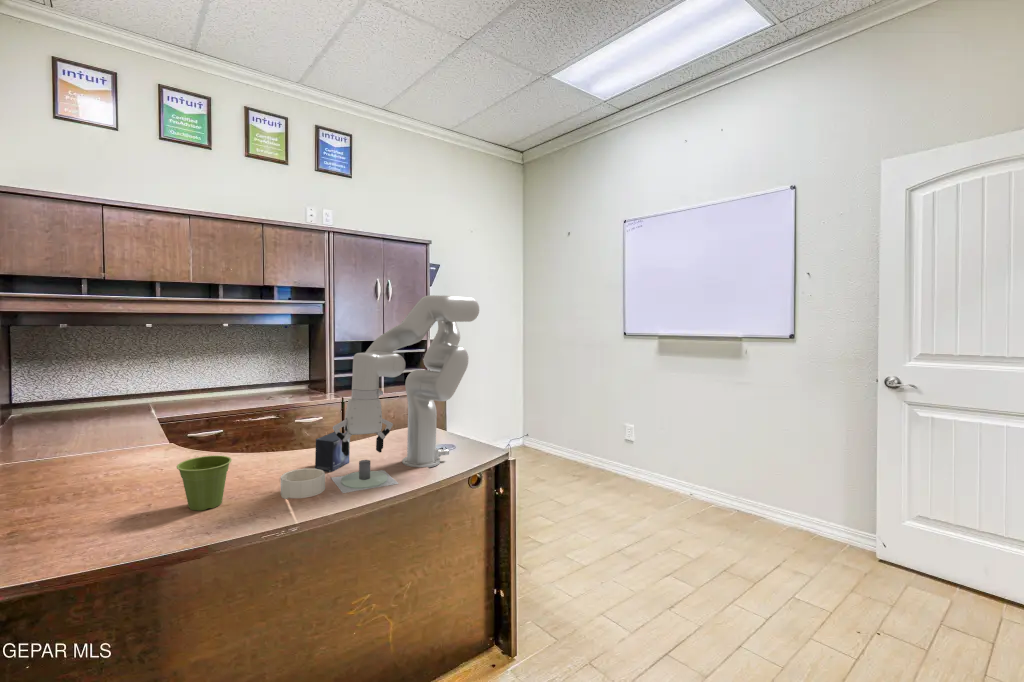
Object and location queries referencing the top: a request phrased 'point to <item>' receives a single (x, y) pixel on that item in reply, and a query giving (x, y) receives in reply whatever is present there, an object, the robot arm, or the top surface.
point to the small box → (330, 453)
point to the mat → (346, 489)
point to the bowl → (302, 483)
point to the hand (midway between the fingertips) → (362, 452)
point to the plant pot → (204, 480)
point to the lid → (364, 477)
